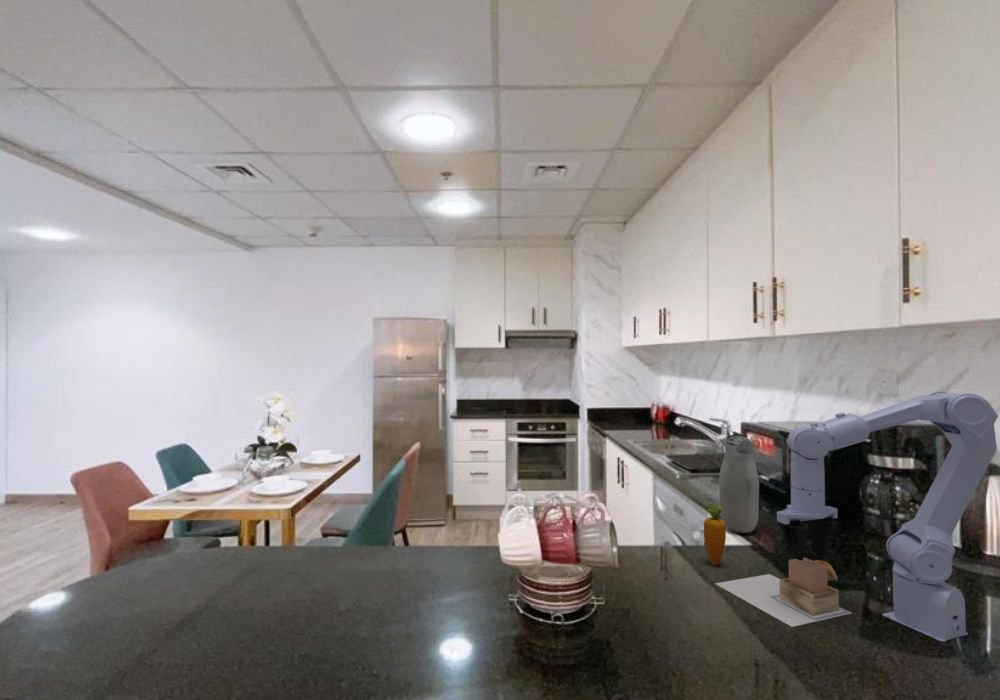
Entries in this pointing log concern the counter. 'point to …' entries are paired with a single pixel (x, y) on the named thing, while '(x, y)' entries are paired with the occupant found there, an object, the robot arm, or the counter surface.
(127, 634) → the counter surface
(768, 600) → the board
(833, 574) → the pastry
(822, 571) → the terracotta block
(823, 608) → the maple base block
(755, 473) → the glass bottle
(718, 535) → the carrot
